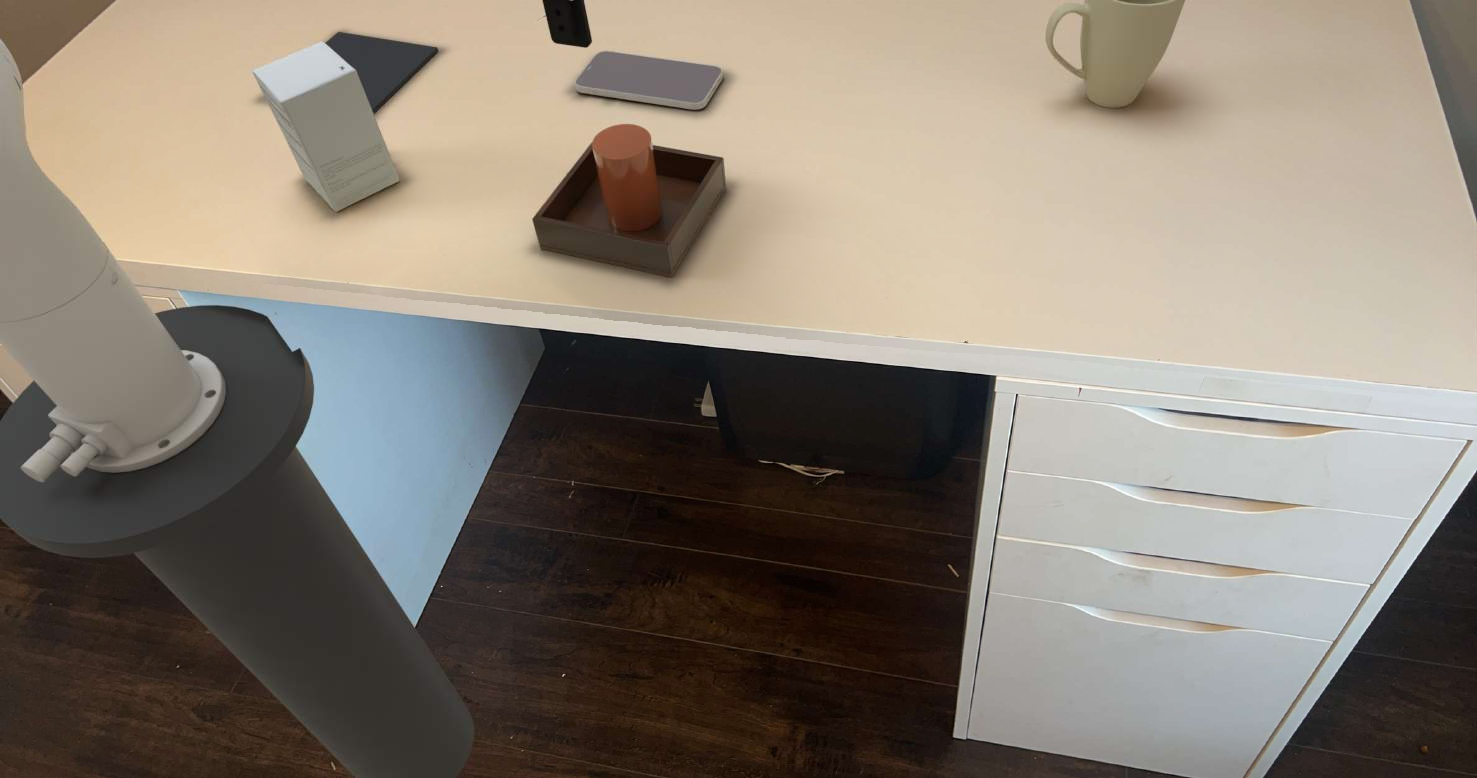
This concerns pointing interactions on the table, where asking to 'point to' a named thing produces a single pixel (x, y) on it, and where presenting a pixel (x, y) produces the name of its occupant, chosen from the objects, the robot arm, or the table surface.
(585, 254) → the tray
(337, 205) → the white packaging box
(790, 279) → the table surface
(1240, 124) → the table surface
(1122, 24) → the mug
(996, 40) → the table surface
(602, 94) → the smartphone
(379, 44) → the mat
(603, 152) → the glossy orange cylinder
